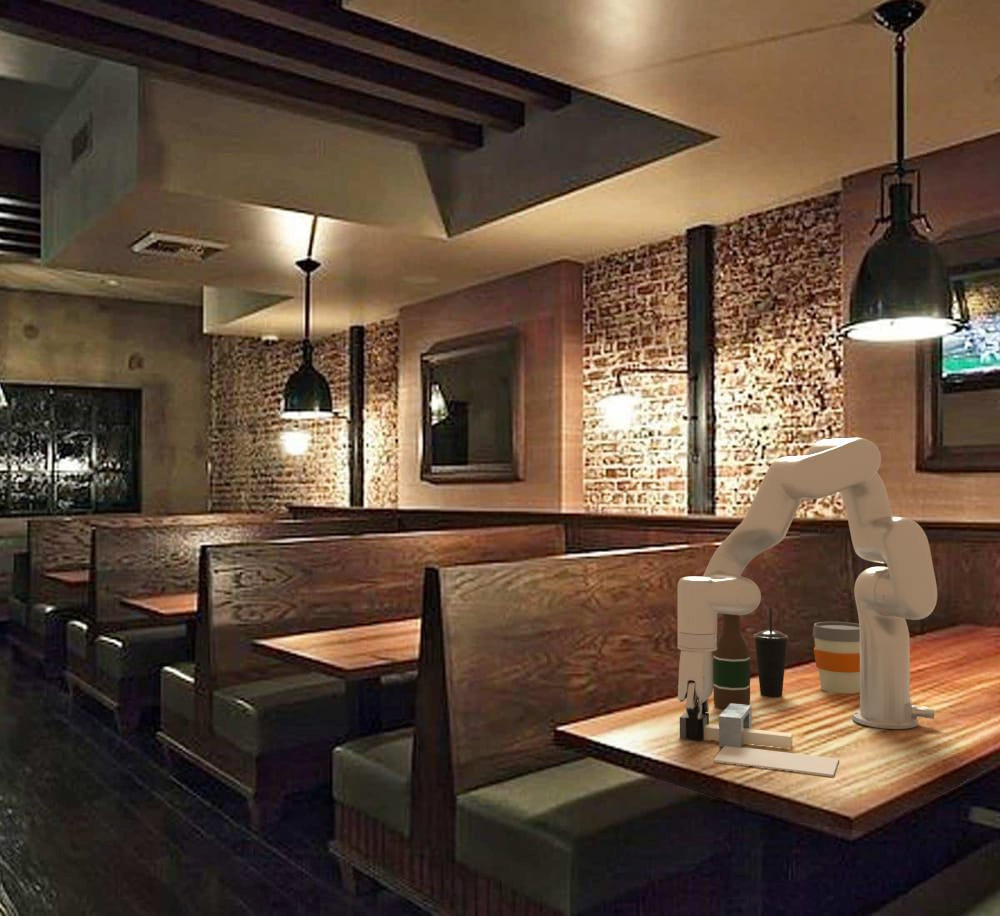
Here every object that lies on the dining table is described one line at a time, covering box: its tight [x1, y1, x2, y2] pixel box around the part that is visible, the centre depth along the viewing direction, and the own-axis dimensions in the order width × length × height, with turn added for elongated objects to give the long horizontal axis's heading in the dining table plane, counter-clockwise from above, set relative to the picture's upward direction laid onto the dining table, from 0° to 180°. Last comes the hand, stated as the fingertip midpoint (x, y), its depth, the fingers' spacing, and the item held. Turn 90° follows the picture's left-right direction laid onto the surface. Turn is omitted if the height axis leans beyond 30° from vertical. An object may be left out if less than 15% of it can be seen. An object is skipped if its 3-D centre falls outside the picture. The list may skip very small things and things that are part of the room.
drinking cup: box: [753, 607, 789, 698], centre depth 220 cm, size 8×8×20 cm
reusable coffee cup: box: [812, 621, 860, 695], centre depth 226 cm, size 13×13×15 cm
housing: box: [718, 703, 753, 748], centre depth 182 cm, size 4×11×6 cm, turn 155°
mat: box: [712, 746, 840, 778], centre depth 169 cm, size 20×10×1 cm, turn 65°
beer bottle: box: [712, 614, 751, 710], centre depth 209 cm, size 8×8×24 cm
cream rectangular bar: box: [679, 712, 793, 750], centre depth 182 cm, size 20×4×4 cm, turn 65°
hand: (697, 735), depth 185 cm, fingers open, 4 cm apart
